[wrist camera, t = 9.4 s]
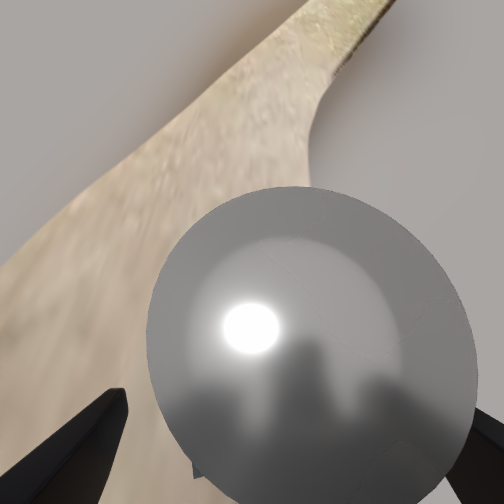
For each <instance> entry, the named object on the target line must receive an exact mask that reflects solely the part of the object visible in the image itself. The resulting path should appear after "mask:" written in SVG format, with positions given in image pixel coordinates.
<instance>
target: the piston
mask: <svg viewBox="0 0 504 504" xmlns="http://www.w3.org/2000/svg"><path fill="white" fill-rule="evenodd" d="M146 341H147V359H148V366H149V372H150V378H151V382H152V386H153V389H154V392H155V396H156V399H157V402H158V405H159V408H160V410H161V412H162V414H163V416H164V419H165V421H166V423H167V425H168V427H169V430H170V431H171V433H172V434H173V436H174V437H175V439H176V441H177V442H178V444H179V445H180V447H181V449H182V450H183V452H184V453H185V454H186V456H187V457H188V458H189V459H190V460H191V461H192V463H193V464H194V465H195V466H196V467H197V468H198V470H199V471H200V472H201V473H202V474H203V475H204V476H205V477H206V478H207V479H208V480H209V481H210V482H212V483H213V484H214V485H215V486H216V487H217V488H218V489H220V490H221V491H222V492H223V493H224V494H225V495H227V496H228V497H230V498H231V499H233V500H235V501H236V502H238V503H239V504H417V503H418V502H420V501H421V500H422V499H423V498H424V497H425V496H427V495H428V494H429V493H430V492H431V491H432V490H434V489H435V488H436V486H437V485H438V484H439V483H440V482H441V481H442V479H443V478H444V477H445V476H446V474H447V473H448V472H449V471H450V470H451V468H452V467H453V465H454V463H455V461H456V459H457V458H458V456H459V454H460V452H461V450H462V449H463V447H464V444H465V442H466V439H467V436H468V433H469V430H470V428H471V425H472V422H473V416H474V411H475V406H476V401H477V386H478V369H477V356H476V349H475V344H474V339H473V335H472V330H471V327H470V324H469V321H468V318H467V315H466V312H465V309H464V307H463V305H462V302H461V300H460V298H459V296H458V294H457V292H456V289H455V288H454V286H453V284H452V283H451V281H450V280H449V278H448V276H447V275H446V273H445V271H444V270H443V269H442V267H441V266H440V264H439V263H438V262H437V260H436V259H435V258H434V256H433V255H432V254H431V253H430V252H429V251H428V250H427V249H426V247H425V246H424V245H423V244H422V243H421V242H420V241H419V240H418V239H417V238H416V237H414V235H412V234H411V233H410V232H409V231H408V230H407V229H406V228H404V227H403V226H402V225H400V224H399V223H398V222H396V221H395V220H394V219H392V218H391V217H389V216H388V215H386V214H384V213H383V212H381V211H380V210H378V209H376V208H374V207H372V206H370V205H368V204H366V203H364V202H362V201H360V200H357V199H355V198H352V197H349V196H347V195H344V194H340V193H336V192H333V191H329V190H323V189H318V188H311V187H296V186H295V187H276V188H269V189H263V190H259V191H255V192H251V193H248V194H245V195H242V196H239V197H237V198H234V199H232V200H230V201H228V202H226V203H224V204H222V205H220V206H218V207H217V208H215V209H214V210H212V211H211V212H209V213H208V214H206V215H205V216H204V217H202V218H201V219H200V220H199V221H198V222H197V223H195V224H194V225H193V226H192V227H191V228H190V229H189V230H188V231H187V232H186V234H185V235H184V236H183V237H182V238H181V239H180V240H179V242H178V243H177V245H176V246H175V247H174V249H173V250H172V252H171V253H170V254H169V256H168V258H167V260H166V262H165V264H164V266H163V267H162V269H161V271H160V274H159V277H158V279H157V282H156V284H155V287H154V290H153V294H152V298H151V302H150V306H149V311H148V321H147V330H146Z"/></svg>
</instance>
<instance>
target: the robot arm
mask: <svg viewBox="0 0 504 504" xmlns="http://www.w3.org/2000/svg"><path fill="white" fill-rule="evenodd" d="M127 417H128V403H127V397H126V392H125V389H124V388H110V389H108V390H107V391H106V392H104V393H103V394H102V395H101V396H99V397H98V398H97V399H96V400H94V401H93V402H92V403H91V404H89V405H88V406H87V407H86V408H85V409H83V410H82V411H81V412H80V413H78V414H77V415H76V416H75V417H73V418H72V419H71V420H70V421H68V422H67V423H66V424H65V425H64V426H62V427H61V428H60V429H59V430H57V431H56V432H55V433H54V434H52V435H51V436H50V437H49V438H47V439H46V440H45V441H44V442H43V443H41V444H40V445H39V446H38V447H36V448H35V449H34V450H33V451H31V452H30V453H29V454H28V455H26V456H25V457H24V458H23V459H22V460H20V461H19V462H18V463H17V464H15V465H14V466H13V467H12V468H10V469H9V470H8V471H7V472H5V473H4V474H3V475H2V476H1V477H0V504H98V502H99V499H100V497H101V495H102V492H103V490H104V487H105V485H106V482H107V480H108V477H109V474H110V471H111V468H112V465H113V462H114V458H115V455H116V452H117V449H118V446H119V443H120V439H121V436H122V433H123V430H124V427H125V423H126V420H127ZM445 477H446V478H447V480H448V482H449V483H450V485H451V487H452V488H453V490H454V492H455V493H456V495H457V497H458V499H459V500H460V502H461V503H462V504H504V424H503V423H501V422H499V421H498V420H496V419H494V418H493V417H491V416H489V415H488V414H486V413H484V412H483V411H481V410H479V409H477V408H476V407H475V411H474V416H473V422H472V425H471V428H470V430H469V433H468V436H467V439H466V442H465V444H464V447H463V449H462V450H461V452H460V454H459V456H458V458H457V459H456V461H455V463H454V465H453V467H452V468H451V470H450V471H449V472H448V473H447V474H446V476H445Z"/></svg>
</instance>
